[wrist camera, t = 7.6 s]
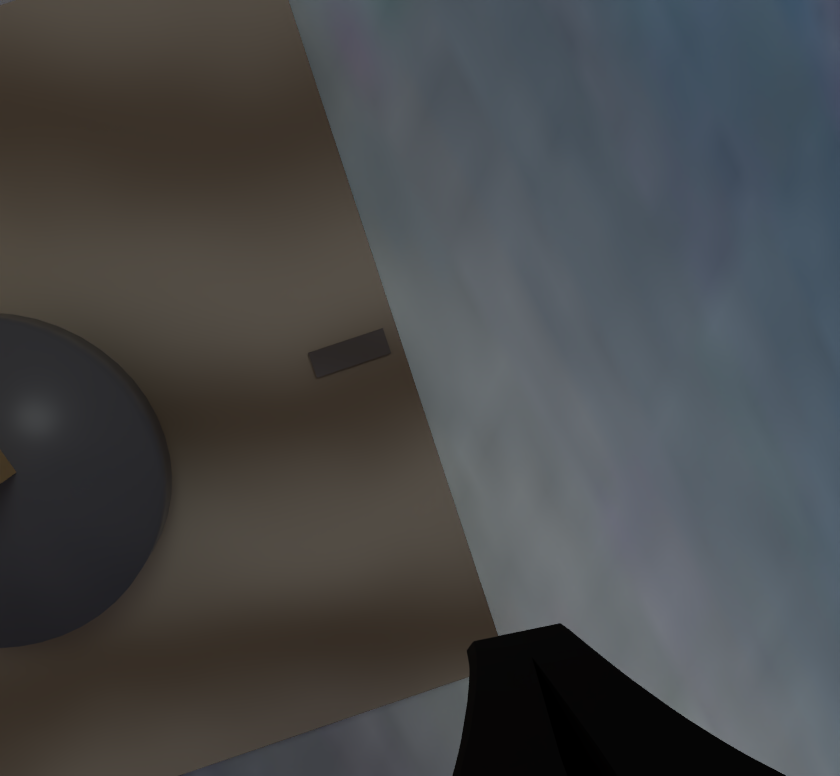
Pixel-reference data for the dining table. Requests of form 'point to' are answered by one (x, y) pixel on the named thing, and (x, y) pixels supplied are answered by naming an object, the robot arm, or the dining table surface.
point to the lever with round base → (72, 481)
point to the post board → (222, 392)
